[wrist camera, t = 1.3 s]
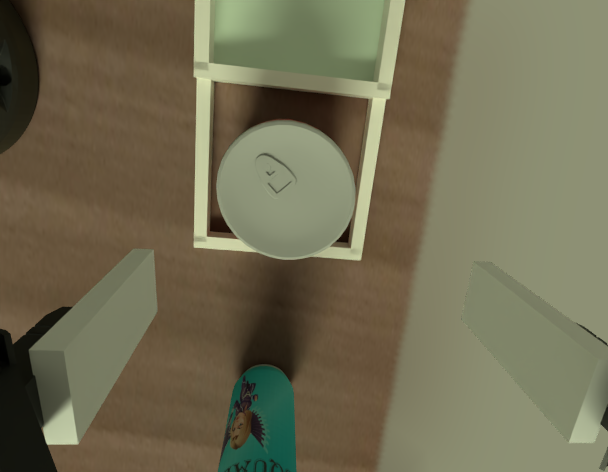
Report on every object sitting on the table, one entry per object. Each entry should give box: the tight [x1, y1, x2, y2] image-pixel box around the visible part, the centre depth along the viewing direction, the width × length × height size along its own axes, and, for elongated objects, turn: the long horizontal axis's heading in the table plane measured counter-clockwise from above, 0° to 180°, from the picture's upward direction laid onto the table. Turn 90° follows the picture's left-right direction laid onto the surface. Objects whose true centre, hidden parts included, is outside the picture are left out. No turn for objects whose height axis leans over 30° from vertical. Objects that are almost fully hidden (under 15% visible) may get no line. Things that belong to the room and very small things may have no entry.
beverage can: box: [218, 364, 296, 472], centre depth 30 cm, size 6×6×15 cm
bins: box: [194, 0, 405, 260], centre depth 28 cm, size 27×14×2 cm, turn 174°
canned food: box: [216, 119, 356, 260], centre depth 26 cm, size 8×8×11 cm
